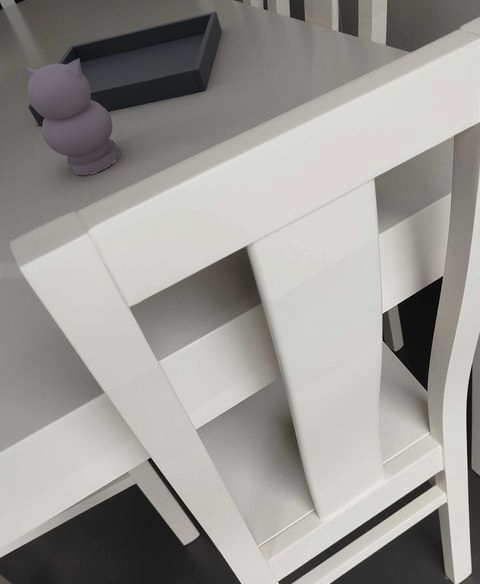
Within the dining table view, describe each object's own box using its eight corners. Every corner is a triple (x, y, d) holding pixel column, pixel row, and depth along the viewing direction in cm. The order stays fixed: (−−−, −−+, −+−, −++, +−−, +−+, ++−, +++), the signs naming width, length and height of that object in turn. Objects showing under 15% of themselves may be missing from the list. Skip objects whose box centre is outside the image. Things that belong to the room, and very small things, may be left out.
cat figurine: (52, 181, 73) (-4, 87, 65) (80, 147, 78) (32, 55, 69) (111, 177, 71) (61, 78, 62) (136, 142, 75) (93, 45, 67)
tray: (38, 126, 86) (27, 106, 84) (78, 64, 101) (69, 46, 98) (205, 90, 82) (198, 68, 79) (221, 30, 96) (216, 11, 94)
